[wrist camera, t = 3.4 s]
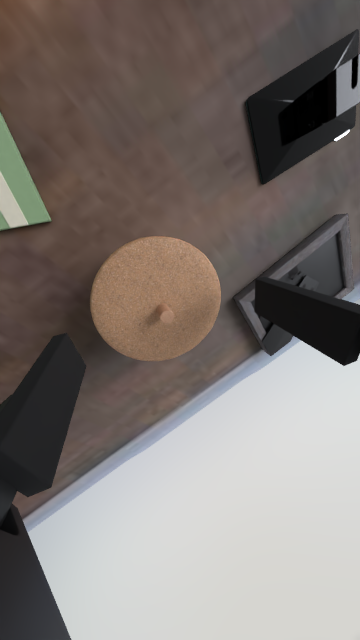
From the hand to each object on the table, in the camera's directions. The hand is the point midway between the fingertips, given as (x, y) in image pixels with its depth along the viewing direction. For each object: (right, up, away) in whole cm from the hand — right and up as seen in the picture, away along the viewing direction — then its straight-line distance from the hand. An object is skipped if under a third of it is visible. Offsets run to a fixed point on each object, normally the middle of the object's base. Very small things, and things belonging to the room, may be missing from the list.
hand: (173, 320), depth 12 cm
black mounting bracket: (+13, +21, +6) cm, 26 cm away
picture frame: (+19, +5, +16) cm, 25 cm away
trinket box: (-3, +4, +9) cm, 10 cm away
